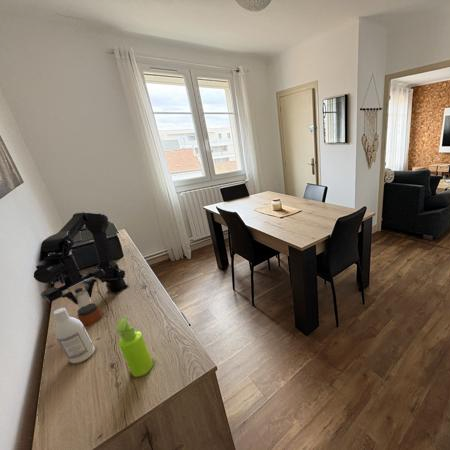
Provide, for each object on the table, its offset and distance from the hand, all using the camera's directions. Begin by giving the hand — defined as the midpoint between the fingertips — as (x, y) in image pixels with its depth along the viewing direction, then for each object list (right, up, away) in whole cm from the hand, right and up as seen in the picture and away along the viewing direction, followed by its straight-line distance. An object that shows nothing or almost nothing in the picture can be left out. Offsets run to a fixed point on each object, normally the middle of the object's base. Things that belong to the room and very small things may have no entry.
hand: (83, 300), depth 98 cm
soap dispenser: (+38, -16, -20) cm, 46 cm away
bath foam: (+12, -15, -13) cm, 24 cm away
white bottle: (0, -1, +1) cm, 2 cm away
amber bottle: (0, -9, +4) cm, 10 cm away
